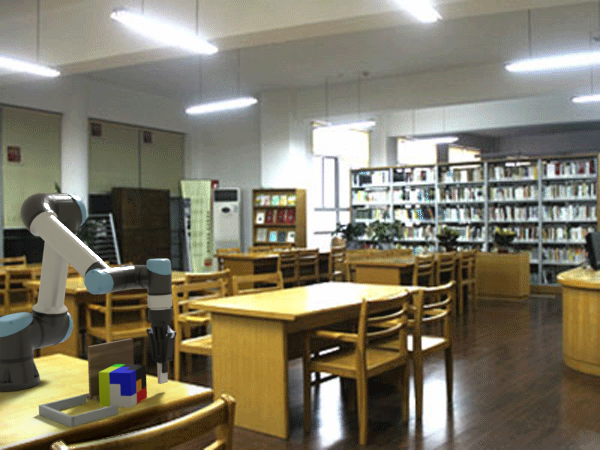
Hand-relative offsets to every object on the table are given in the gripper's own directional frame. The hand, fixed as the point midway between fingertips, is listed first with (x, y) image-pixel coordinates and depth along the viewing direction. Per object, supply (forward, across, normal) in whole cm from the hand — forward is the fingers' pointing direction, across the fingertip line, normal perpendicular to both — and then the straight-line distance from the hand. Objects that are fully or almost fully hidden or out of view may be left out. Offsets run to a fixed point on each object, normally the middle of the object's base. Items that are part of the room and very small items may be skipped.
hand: (162, 382), depth 194 cm
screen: (+3, +10, +12) cm, 16 cm away
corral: (+3, 0, +28) cm, 29 cm away
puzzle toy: (+3, 0, +14) cm, 14 cm away
